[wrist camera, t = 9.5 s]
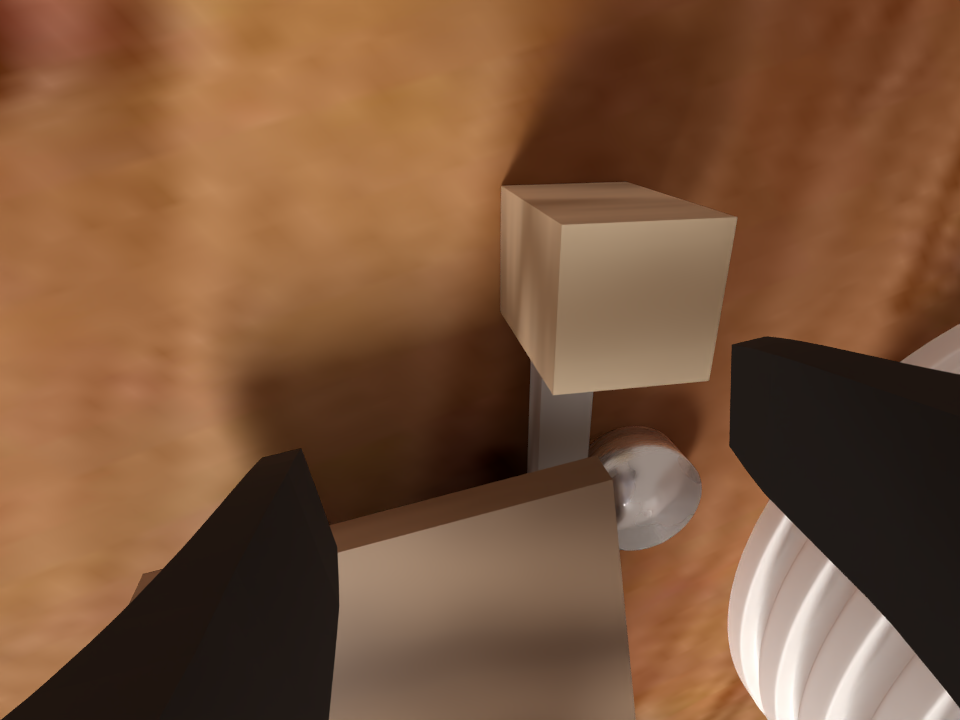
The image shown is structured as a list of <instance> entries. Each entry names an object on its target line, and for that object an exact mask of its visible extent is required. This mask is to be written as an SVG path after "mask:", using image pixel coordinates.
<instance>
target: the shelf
mask: <svg viewBox="0 0 960 720" xmlns="http://www.w3.org/2000/svg"><path fill="white" fill-rule="evenodd" d="M329 526H330V528H331V531H332V534H333V537H334V539H335V542H336V545H337V550H338V573H339V617H338V629H337V640H336V651H335V662H334V672H333V682H332V692H331V703H330V713H329V720H636V719H635V708H634V698H633V687H632V677H631V667H630V656H629V646H628V635H627V625H626V615H625V604H624V594H623V583H622V573H621V562H620V552H619V542H618V531H617V521H616V510H615V500H614V490H613V480H612V478H611V476H610V475H609V473H608V472H607V470H606V469H605V467H604V466H603V464H602V463H601V461H600V459H599V458H598V456H597V455H596V456H592V457H588V458H584V459H581V460H577V461H573V462H569V463H565V464H562V465H558V466H554V467H550V468H546V469H542V470H539V471H535V472H531V473H527V474H523V475H520V476H516V477H512V478H508V479H504V480H500V481H497V482H493V483H489V484H485V485H481V486H478V487H474V488H470V489H466V490H462V491H458V492H455V493H451V494H447V495H443V496H439V497H436V498H432V499H428V500H424V501H420V502H416V503H413V504H409V505H405V506H401V507H397V508H393V509H390V510H386V511H382V512H378V513H374V514H371V515H367V516H363V517H359V518H355V519H351V520H348V521H344V522H340V523H336V524H332V525H329ZM161 570H162V569H160V570H157V571H153V572H149V573H145V574H143V575H142V578H141V580H140V582H139V584H138V586H137V588H136V590H135V593H134V595H133V597H132V599H131V601H130V603H131V602H132V601H133V600H134V599H135V598H136V597H137V596H138V595H139V593H140V592H141V591H142V590H143V589H144V588H145V587H146V586H147V585H148V584H149V583H150V582H151V581H152V580H153V579H154V578H155V577H156V576H157V575H158V573H159V572H160V571H161ZM130 603H129V604H130Z"/></svg>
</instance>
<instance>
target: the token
mask: <svg viewBox="0 0 960 720" xmlns="http://www.w3.org/2000/svg"><path fill="white" fill-rule="evenodd" d="M596 455H597V456H598V458H599V459H600V461H601V463H602V464H603V466H604V467H605V469H606V470H607V472H608V473H609V475H610V476H611V478H612V480H613V490H614V500H615V510H616V521H617V531H618V542H619V550H641V549H646V548H649V547H653V546H655V545H658V544H660V543H662V542H664V541H666V540H668V539H669V538H671V537H672V536H674V535H675V534H676V533H678V532H679V531H680V530H681V529H682V528H683V527H684V526H685V525H686V524H687V523H688V522H689V521H690V519H691V518H692V516H693V515H694V513H695V511H696V509H697V507H698V505H699V502H700V498H701V491H702V487H701V480H700V476H699V474H698V472H697V470H696V469H695V467H694V466H693V465H692V464H691V463H690V462H689V461H688V459H687V458H686V457H685V456H684V455H683V454H682V453H681V452H680V450H679V449H678V448H677V447H676V446H675V445H674V444H673V442H672V441H671V440H670V439H669V438H668V437H667V436H666V435H665V434H663V433H662V432H660V431H658V430H656V429H654V428H651V427H646V426H628V427H622V428H619V429H616V430H613V431H611V432H608V433H607V434H605V435H603V436H601V437H600V438H598V439H597V440H595V441H594V442H593V443H592V444H591V445H590V446H589V450H588V457H592V456H596Z"/></svg>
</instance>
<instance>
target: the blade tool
mask: <svg viewBox="0 0 960 720" xmlns="http://www.w3.org/2000/svg"><path fill="white" fill-rule="evenodd" d="M736 223H737V217H736V216H732V215H729V214H726V213H723V212H720V211H717V210H714V209H710V208H707V207H704V206H701V205H698V204H695V203H692V202H689V201H685V200H682V199H679V198H676V197H673V196H670V195H667V194H664V193H660V192H657V191H654V190H651V189H648V188H645V187H642V186H638V185H635V184H632V183H629V182H602V183H571V184H541V185H510V186H501V262H500V312H501V314H502V315H503V317H504V318H505V320H506V322H507V323H508V325H509V326H510V328H511V329H512V331H513V333H514V334H515V336H516V337H517V339H518V341H519V342H520V344H521V345H522V347H523V348H524V350H525V352H526V353H527V355H528V356H529V358H530V360H531V371H530V402H529V433H528V464H527V473H531V472H535V471H539V470H542V469H546V468H550V467H554V466H558V465H562V464H565V463H569V462H573V461H577V460H581V459H584V458H588V450H589V438H590V426H591V414H592V401H593V392H594V391H605V390H615V389H626V388H637V387H648V386H659V385H669V384H680V383H691V382H702V381H709V378H710V372H711V366H712V361H713V355H714V349H715V343H716V338H717V332H718V326H719V320H720V315H721V309H722V303H723V298H724V292H725V286H726V280H727V275H728V269H729V263H730V257H731V252H732V246H733V240H734V235H735V229H736Z"/></svg>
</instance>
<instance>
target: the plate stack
mask: <svg viewBox="0 0 960 720" xmlns="http://www.w3.org/2000/svg"><path fill="white" fill-rule="evenodd" d="M901 363H906V364H911V365H915V366H920V367H925V368H930V369H935V370H940V371H945V372H950V373H955V374H960V324H958V325H957V326H955V327H953V328H951V329H950V330H948V331H946V332H944V333H943V334H941V335H939V336H938V337H936V338H935V339H933V340H931V341H930V342H928V343H927V344H925V345H924V346H922V347H921V348H919V349H918V350H916V351H915V352H913V353H912V354H910V355H909V356H908V357H906V358H905V359H903V360H902V361H901ZM728 639H729V647H730V651H731V656H732V659H733V663H734V666H735V668H736V671H737V673H738V675H739V677H740V679H741V681H742V682H743V684H744V686H745V687H746V689H747V690H748V692H749V694H750V695H751V697H752V698H753V700H754V701H755V703H756V704H757V706H758V707H759V708H760V710H761V711H762V712H763V713H764V714H765V715H766V717H767V719H768V720H960V708H959V707H958V706H957V704H956V703H955V702H954V700H953V699H952V698H951V696H950V695H949V694H948V693H947V691H946V690H945V689H944V687H943V686H942V685H941V684H940V683H939V681H938V680H937V679H936V678H935V677H934V675H933V674H932V673H931V672H930V670H929V669H928V668H927V667H926V666H925V664H924V663H923V662H922V661H921V659H920V658H919V657H918V656H917V655H916V653H915V652H914V651H913V650H912V649H911V647H910V646H909V645H908V644H907V642H906V641H905V640H904V639H903V638H902V636H901V635H900V634H899V633H898V631H897V630H896V629H895V628H894V627H893V626H892V624H891V623H890V622H889V621H888V620H887V619H886V618H885V617H884V616H883V615H882V614H881V612H880V611H879V610H878V609H877V608H876V607H875V606H874V605H873V604H872V603H871V602H870V600H869V599H868V598H867V597H866V596H865V595H864V594H863V593H862V592H861V591H860V590H859V589H858V588H857V587H856V586H855V585H854V584H853V583H852V582H851V581H850V580H849V579H848V578H847V577H846V576H845V575H844V574H843V573H842V572H841V571H840V570H839V569H838V568H837V567H836V566H835V565H834V564H833V563H832V562H831V561H830V560H829V559H828V558H827V557H826V556H825V555H824V554H823V553H822V552H821V551H820V550H819V549H818V548H817V547H816V546H815V545H814V544H813V543H812V542H811V541H810V540H809V539H808V538H807V537H806V536H805V535H804V534H803V533H802V532H801V531H800V530H799V529H798V528H797V527H796V526H795V525H794V524H793V523H792V522H791V521H790V519H789V518H788V517H787V516H786V515H785V514H784V513H783V512H782V511H781V510H780V509H779V508H778V507H777V506H776V505H775V504H774V503H773V502H772V501H771V500H769V502H768V503H767V505H766V507H765V508H764V510H763V512H762V514H761V515H760V517H759V519H758V521H757V523H756V525H755V527H754V529H753V531H752V533H751V535H750V537H749V539H748V542H747V544H746V546H745V549H744V551H743V554H742V556H741V559H740V562H739V565H738V568H737V571H736V574H735V578H734V582H733V586H732V590H731V596H730V602H729V610H728Z"/></svg>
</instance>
